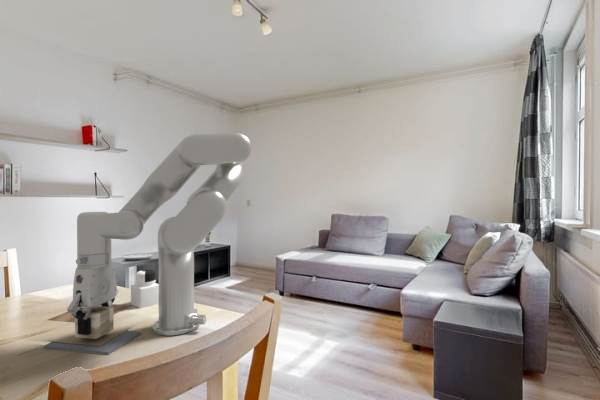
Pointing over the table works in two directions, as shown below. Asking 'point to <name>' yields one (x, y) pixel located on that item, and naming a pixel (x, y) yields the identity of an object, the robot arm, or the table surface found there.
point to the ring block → (98, 322)
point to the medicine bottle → (145, 289)
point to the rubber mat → (102, 349)
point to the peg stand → (70, 318)
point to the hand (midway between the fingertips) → (95, 328)
